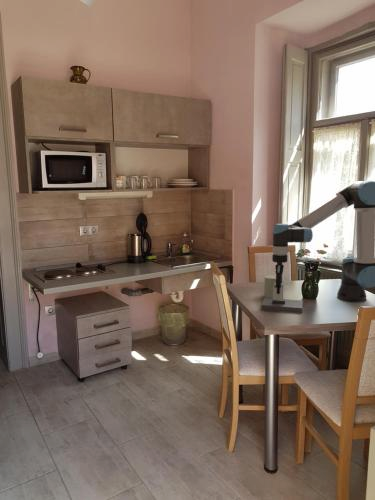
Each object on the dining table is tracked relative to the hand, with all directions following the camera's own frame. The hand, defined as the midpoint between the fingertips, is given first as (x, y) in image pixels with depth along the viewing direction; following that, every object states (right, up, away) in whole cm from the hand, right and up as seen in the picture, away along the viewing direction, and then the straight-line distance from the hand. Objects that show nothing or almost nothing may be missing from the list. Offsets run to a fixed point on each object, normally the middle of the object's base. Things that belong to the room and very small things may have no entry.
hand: (278, 298), depth 207 cm
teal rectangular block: (0, 0, 0) cm, 0 cm away
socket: (+2, -5, 0) cm, 5 cm away
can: (+1, -2, +21) cm, 21 cm away
